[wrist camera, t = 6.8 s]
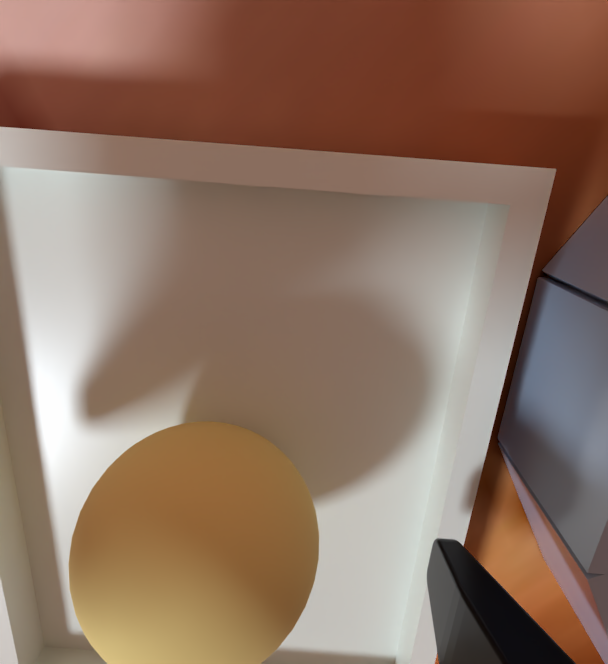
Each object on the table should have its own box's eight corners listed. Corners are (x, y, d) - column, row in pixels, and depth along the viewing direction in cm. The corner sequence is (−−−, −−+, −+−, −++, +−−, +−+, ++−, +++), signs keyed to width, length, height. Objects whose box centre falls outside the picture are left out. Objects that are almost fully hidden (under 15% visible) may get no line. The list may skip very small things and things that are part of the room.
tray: (406, 667, 13) (417, 730, 12) (37, 639, 13) (3, 698, 12) (515, 168, 9) (556, 168, 7) (-56, 125, 9) (-134, 116, 7)
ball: (307, 545, 11) (314, 761, 7) (129, 538, 11) (32, 756, 7) (321, 388, 10) (341, 548, 6) (116, 376, 10) (-17, 533, 6)
